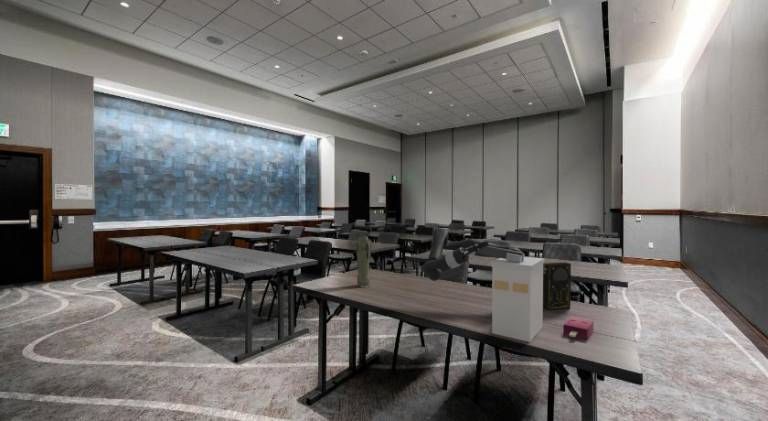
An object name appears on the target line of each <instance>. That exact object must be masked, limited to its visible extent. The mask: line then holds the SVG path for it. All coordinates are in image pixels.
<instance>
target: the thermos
mask: <svg viewBox="0 0 768 421" xmlns="http://www.w3.org/2000/svg"><path fill="white" fill-rule="evenodd" d="M371 247H372V246H371V244H370V240H369V237H368V236H367V235H361V236H358V240H357V243H356V258H357V259H356V261H357V276H356V279H357V280H356V282H357V285H358V286H364V287H363V288H366V287H365V286H369V285H370V282H371V281H370V280H371V276H370V258H371ZM358 286H357V287H358ZM369 287H370V286H369Z"/></svg>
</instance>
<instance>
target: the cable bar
mask: <svg viewBox="0 0 768 421" xmlns="http://www.w3.org/2000/svg"><path fill="white" fill-rule="evenodd" d="M474 245H476V244H474ZM477 245H478V244H477ZM475 253H479V254H484V255H489V256H494V257H499V258H503V259H506V260H509V261H513V262H518V263H521V262H523V261H524V257H526V256H525V255H526V254H525V252H522V251H521V252H517V251H512V250H507V249H502V248H496V247H491V246H484V247H483V248H481V249H480V248H479V250H477V251H476V252H475ZM494 257H493V258H494ZM499 258H498V259H499Z"/></svg>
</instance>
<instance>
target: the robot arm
mask: <svg viewBox="0 0 768 421" xmlns="http://www.w3.org/2000/svg"><path fill="white" fill-rule="evenodd" d="M431 242H432V243H431V244H432V245H431V248H430V251H429V255H428V258H427V261H426V262H424V264H422V267H421V270H422V272H423V273H424V274H425V275H426V276H427V278H428V279H429V280H431V281H433V282H435V281H439V279H440V278H441V276H442V274H443V272H447V271H450V270H452V269H454V268H458V267H459V266H461V265H463V264H465V263H467V262H469V260H470V257H471V256H475V257H483V258H494V259H499V257H494V256H489V255H484V254H479V253H475V252H476V251H477V250H479V248H480V249H481V248H483V247H484V246H491V247H496V248H502V249H507V250H512V251H517V252H522V250H521V249H520V248H517V247H514V246H505V245H498V244H495V243H491V242H488V240H481V239H477V238H467V239H463V240H460V241H451V240H449V232H448V230H447V229H445V228H443V227H442V228H441V227H438V228H435V229H434V230H433V232H432V241H431ZM474 244H476V245H474ZM477 244H478V245H477ZM443 250H448V251H451V252H449V253H448V254H446V255H445V256H443V253H444V252H443Z"/></svg>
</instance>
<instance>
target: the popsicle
mask: <svg viewBox="0 0 768 421" xmlns="http://www.w3.org/2000/svg"><path fill="white" fill-rule="evenodd" d="M562 328H563V329H562V330H563V331H562V332H563V333H562V334H563V335H564V336H569V337H571V338H577V339H582V340H585V341H586V340H587V341H588V340H589V338H590V336H591V335H592V333H593V332H594V320H593V319H588V318H584V317H578V316H572V315H571V316H570V317H569V318H568V319H567V320H566V321H565V323H564V324H563V327H562Z"/></svg>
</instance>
